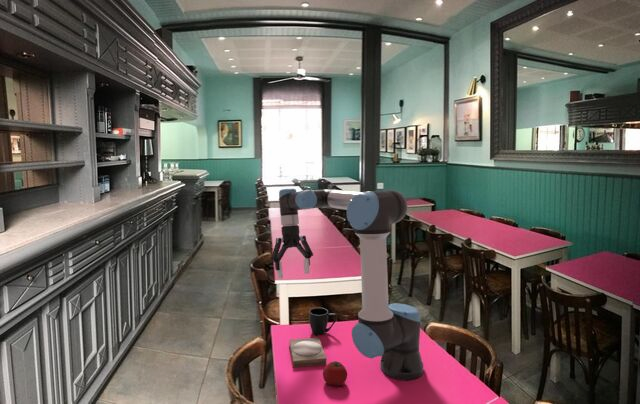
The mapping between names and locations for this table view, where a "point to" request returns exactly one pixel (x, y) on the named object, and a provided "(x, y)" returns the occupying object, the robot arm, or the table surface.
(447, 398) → the table surface
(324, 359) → the wooden coaster block
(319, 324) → the mug
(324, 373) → the tomato
